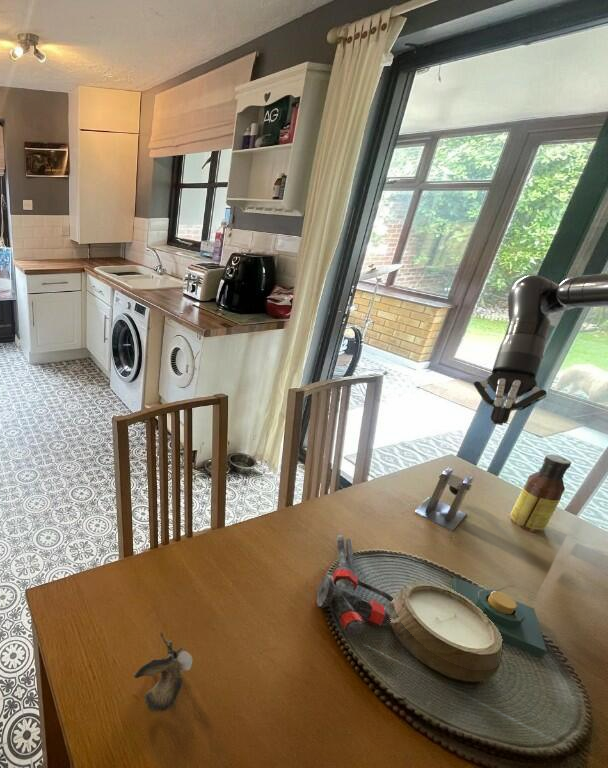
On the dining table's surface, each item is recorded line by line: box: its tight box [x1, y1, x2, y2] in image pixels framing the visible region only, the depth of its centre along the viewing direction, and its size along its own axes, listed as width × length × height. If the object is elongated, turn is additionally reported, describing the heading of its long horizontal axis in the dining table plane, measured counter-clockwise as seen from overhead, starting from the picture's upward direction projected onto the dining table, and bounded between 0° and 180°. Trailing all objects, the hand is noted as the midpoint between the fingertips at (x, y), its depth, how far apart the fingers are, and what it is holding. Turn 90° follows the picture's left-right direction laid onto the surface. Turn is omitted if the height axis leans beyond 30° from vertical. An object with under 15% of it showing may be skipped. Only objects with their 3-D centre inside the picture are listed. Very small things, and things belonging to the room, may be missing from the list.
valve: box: [316, 534, 395, 635], centre depth 83 cm, size 6×26×15 cm
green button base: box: [451, 577, 547, 659], centre depth 78 cm, size 12×10×4 cm
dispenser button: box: [488, 590, 517, 615], centre depth 77 cm, size 4×4×2 cm
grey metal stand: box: [413, 467, 475, 532], centre depth 101 cm, size 10×8×13 cm
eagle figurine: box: [133, 631, 194, 712], centre depth 67 cm, size 8×7×9 cm
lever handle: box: [447, 473, 464, 496], centre depth 103 cm, size 14×4×4 cm
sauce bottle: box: [509, 454, 572, 534], centre depth 97 cm, size 7×6×20 cm
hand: (497, 423), depth 96 cm, fingers closed
